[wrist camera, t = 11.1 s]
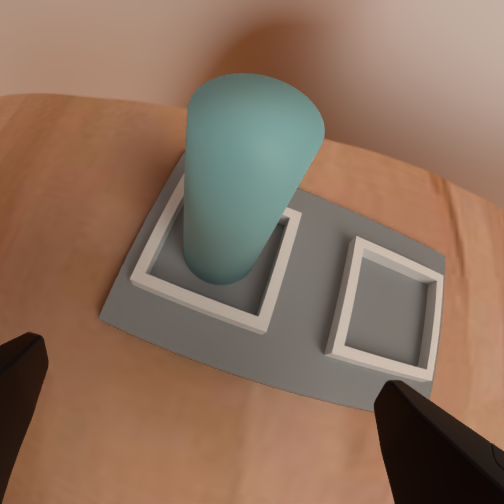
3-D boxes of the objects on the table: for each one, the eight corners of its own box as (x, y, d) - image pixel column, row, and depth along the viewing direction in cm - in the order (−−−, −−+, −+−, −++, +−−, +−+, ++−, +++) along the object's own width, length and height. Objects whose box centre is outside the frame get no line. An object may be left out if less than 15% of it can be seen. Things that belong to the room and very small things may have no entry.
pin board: (440, 258, 22) (453, 250, 20) (419, 420, 16) (435, 420, 15) (186, 152, 21) (187, 137, 19) (100, 320, 16) (92, 314, 14)
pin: (207, 298, 16) (236, 189, 7) (170, 236, 17) (164, 91, 8) (269, 262, 18) (349, 142, 9) (231, 207, 19) (272, 65, 10)
